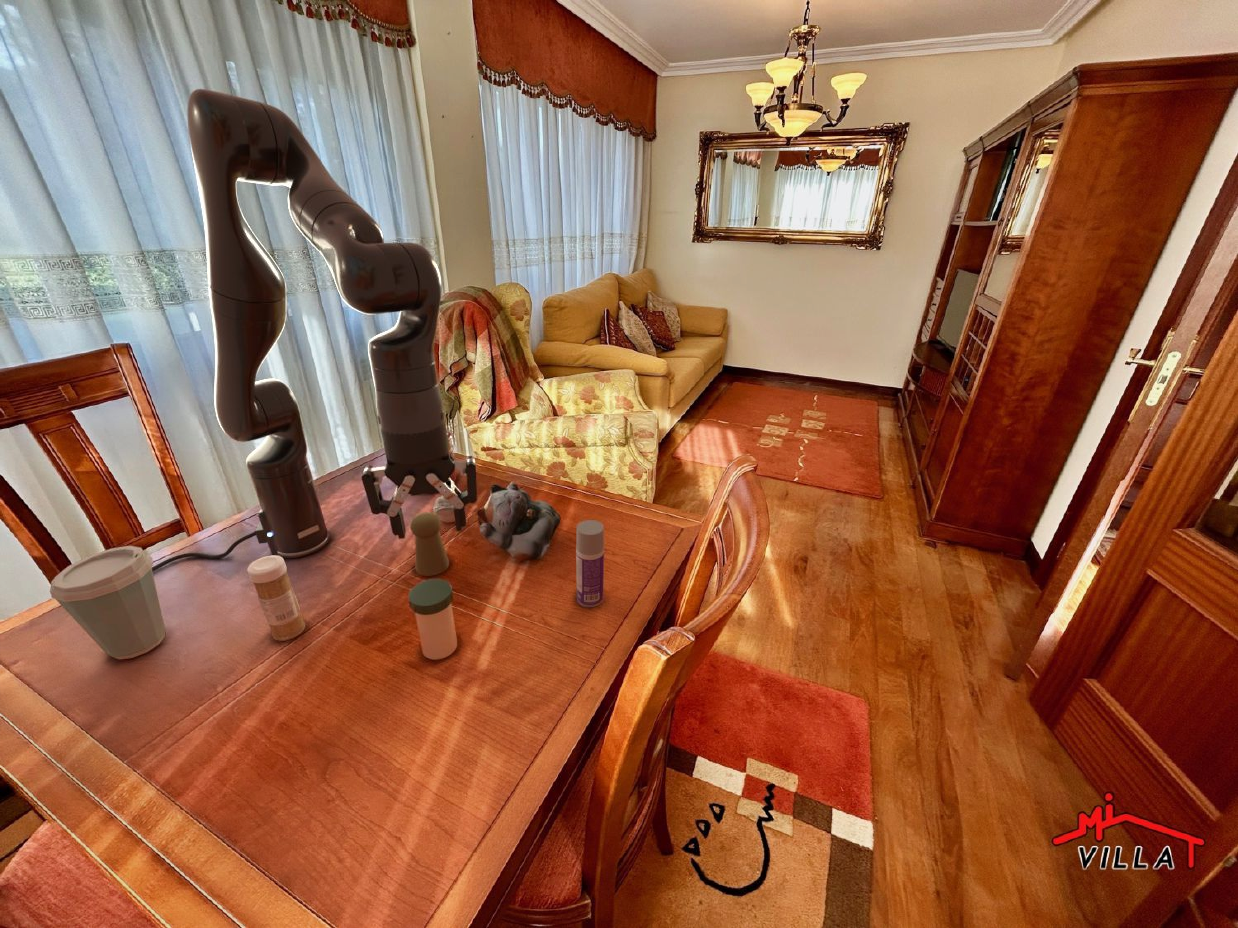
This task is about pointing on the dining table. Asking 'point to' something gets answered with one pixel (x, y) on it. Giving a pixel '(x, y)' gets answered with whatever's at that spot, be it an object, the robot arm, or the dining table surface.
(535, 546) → the lucky cat figurine
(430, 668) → the dining table surface
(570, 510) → the dining table surface
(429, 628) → the jar
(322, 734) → the dining table surface
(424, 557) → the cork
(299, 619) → the sprinkles bottle
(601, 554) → the container
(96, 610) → the disposable coffee cup
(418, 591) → the lid
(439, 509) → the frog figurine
